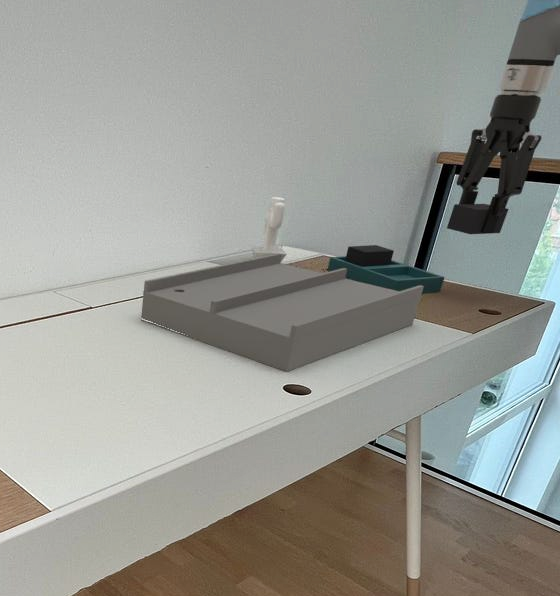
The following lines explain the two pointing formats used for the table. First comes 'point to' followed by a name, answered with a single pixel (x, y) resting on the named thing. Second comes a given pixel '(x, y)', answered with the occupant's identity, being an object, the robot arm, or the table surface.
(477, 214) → the pad
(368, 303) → the desk organizer
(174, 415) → the table surface
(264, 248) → the figurine
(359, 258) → the pad
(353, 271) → the back divided tray
